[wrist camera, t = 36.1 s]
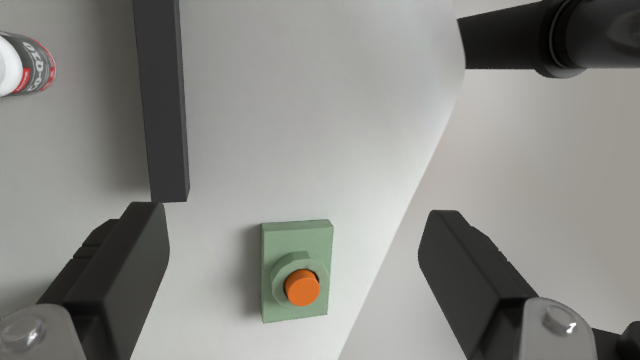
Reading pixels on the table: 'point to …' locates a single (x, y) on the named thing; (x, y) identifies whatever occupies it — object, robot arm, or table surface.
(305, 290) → the switch
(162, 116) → the bar
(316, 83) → the table surface
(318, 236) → the switch base
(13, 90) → the pill bottle
